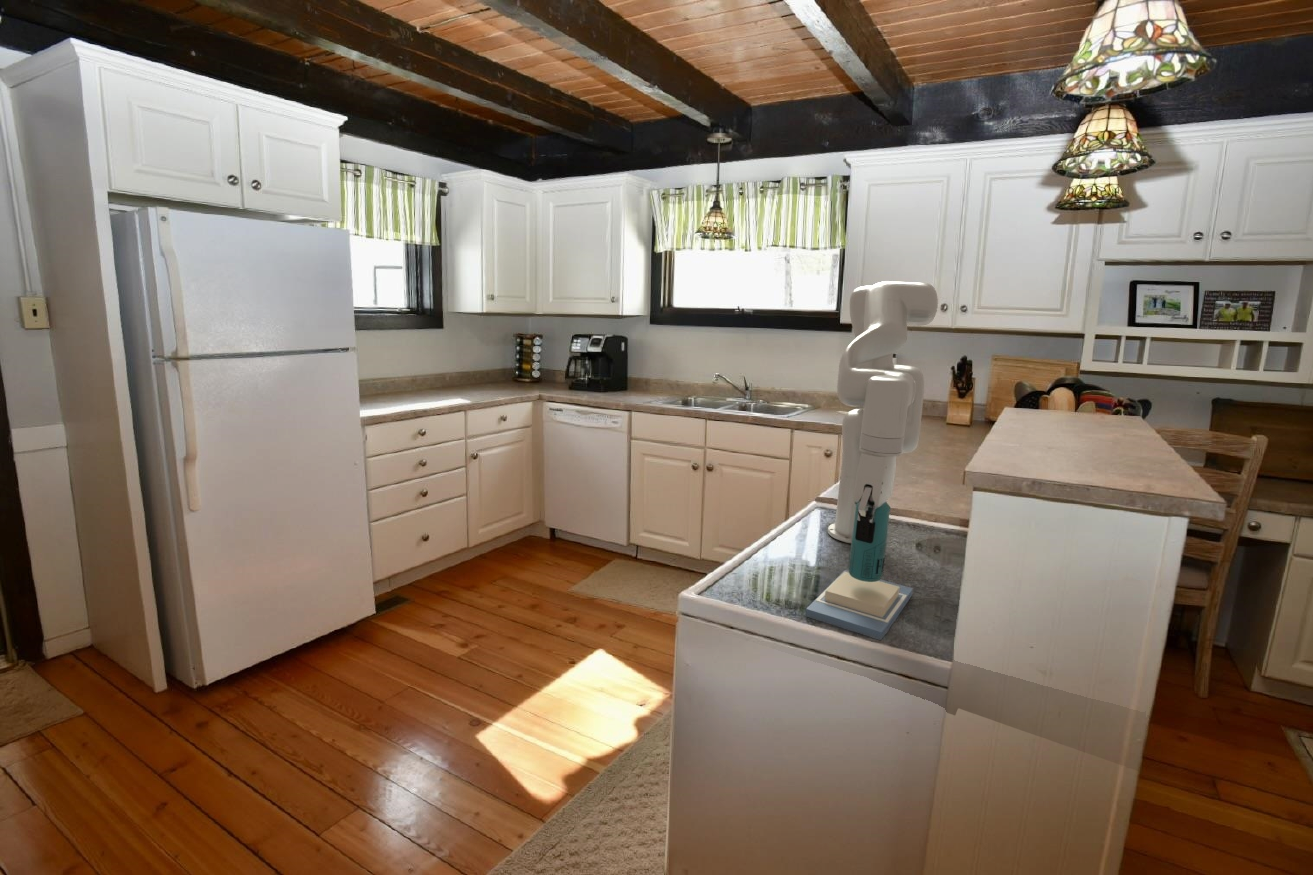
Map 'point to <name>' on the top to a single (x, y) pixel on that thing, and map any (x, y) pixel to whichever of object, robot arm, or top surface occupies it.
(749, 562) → the top surface
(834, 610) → the board
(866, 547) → the beverage bottle
